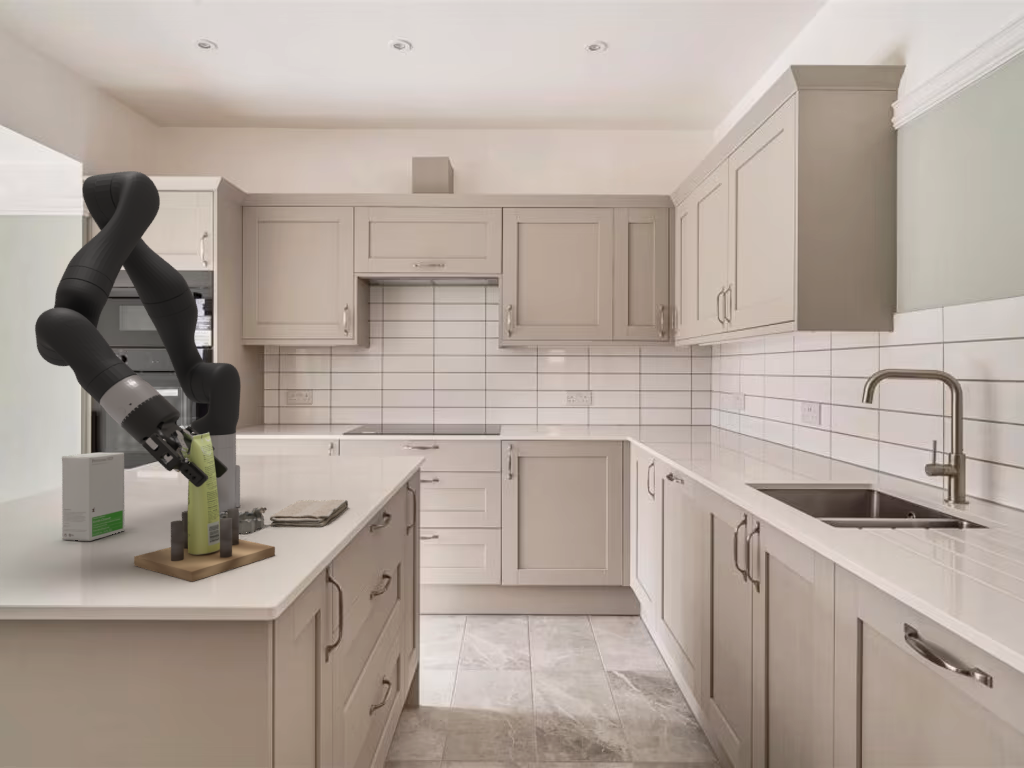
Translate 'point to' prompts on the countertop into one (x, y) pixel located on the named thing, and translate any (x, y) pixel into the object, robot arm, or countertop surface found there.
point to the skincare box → (92, 495)
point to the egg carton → (249, 519)
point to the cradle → (201, 566)
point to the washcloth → (309, 513)
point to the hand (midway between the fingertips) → (214, 478)
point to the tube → (203, 501)
